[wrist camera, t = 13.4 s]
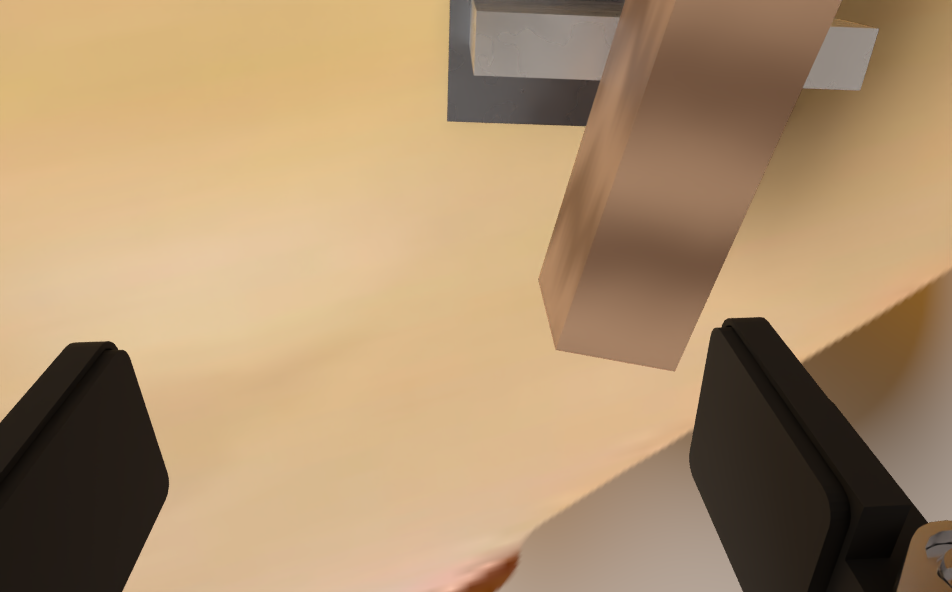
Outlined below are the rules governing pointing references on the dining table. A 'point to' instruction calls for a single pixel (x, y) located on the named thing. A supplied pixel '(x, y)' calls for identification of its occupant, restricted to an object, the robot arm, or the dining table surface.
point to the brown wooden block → (672, 168)
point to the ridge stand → (576, 59)
